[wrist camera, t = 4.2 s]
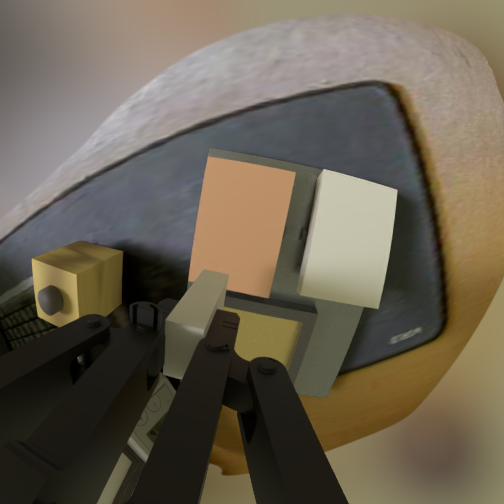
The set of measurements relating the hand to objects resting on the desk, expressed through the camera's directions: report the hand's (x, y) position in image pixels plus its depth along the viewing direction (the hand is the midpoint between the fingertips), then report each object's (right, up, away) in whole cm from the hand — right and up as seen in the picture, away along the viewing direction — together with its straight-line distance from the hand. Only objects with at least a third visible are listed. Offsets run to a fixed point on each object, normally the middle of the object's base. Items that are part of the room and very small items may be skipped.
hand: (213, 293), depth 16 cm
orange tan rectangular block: (+2, +5, +5) cm, 7 cm away
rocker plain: (+10, +3, +5) cm, 11 cm away
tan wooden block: (-14, 0, +11) cm, 18 cm away
